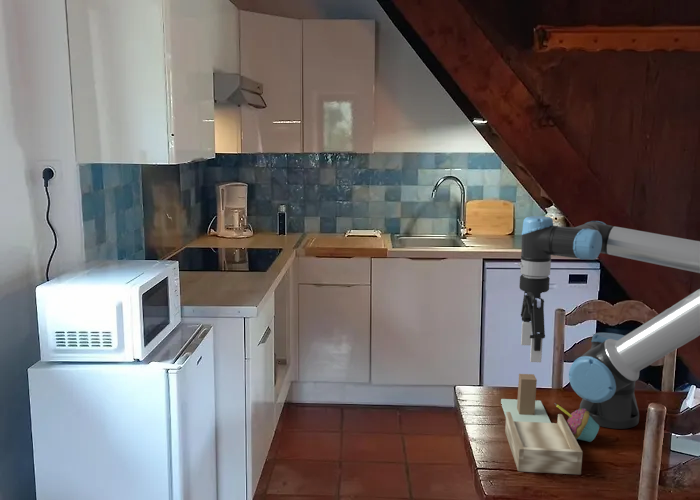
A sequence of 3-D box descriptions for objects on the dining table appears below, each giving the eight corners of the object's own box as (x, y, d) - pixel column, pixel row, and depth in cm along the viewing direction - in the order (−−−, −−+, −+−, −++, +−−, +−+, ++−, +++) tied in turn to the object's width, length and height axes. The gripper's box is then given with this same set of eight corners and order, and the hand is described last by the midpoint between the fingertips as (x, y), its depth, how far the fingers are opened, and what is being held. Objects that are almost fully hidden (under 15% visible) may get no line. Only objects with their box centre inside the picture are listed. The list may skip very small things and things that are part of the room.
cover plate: (540, 405, 189) (542, 367, 186) (552, 430, 173) (554, 389, 171) (500, 403, 189) (502, 365, 187) (509, 428, 174) (511, 387, 172)
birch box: (560, 434, 170) (562, 414, 169) (580, 474, 151) (582, 452, 150) (505, 431, 171) (506, 411, 170) (518, 471, 152) (519, 449, 151)
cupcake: (604, 412, 167) (560, 388, 170) (602, 432, 160) (557, 406, 162) (586, 435, 171) (544, 411, 174) (584, 455, 164) (539, 429, 166)
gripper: (512, 265, 186) (509, 338, 190) (529, 286, 162) (524, 369, 166) (539, 266, 186) (535, 338, 190) (560, 286, 161) (555, 370, 165)
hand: (530, 353), depth 178 cm, fingers open, 13 cm apart
